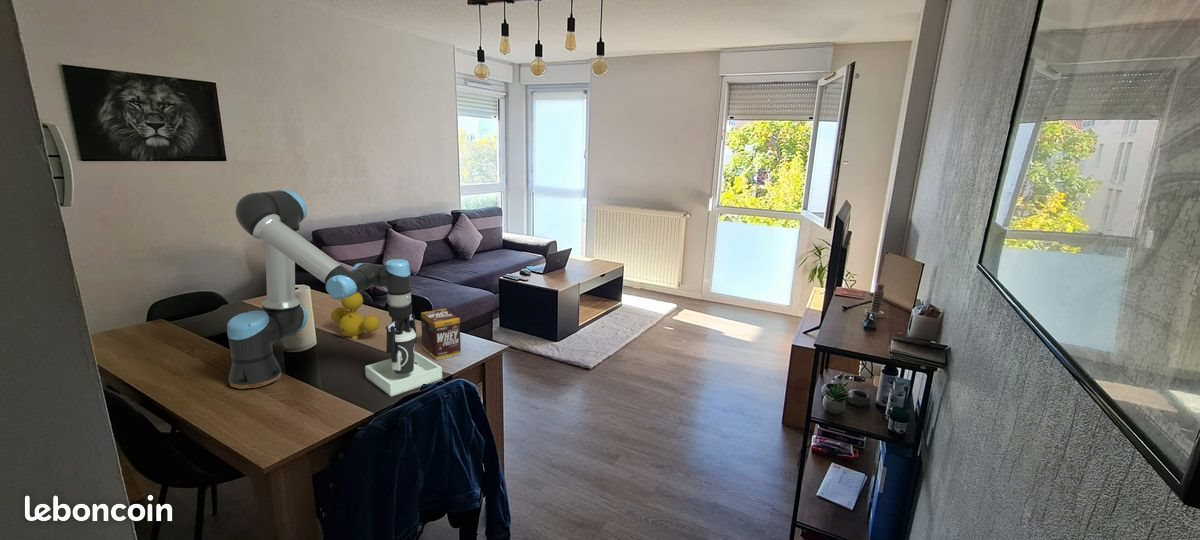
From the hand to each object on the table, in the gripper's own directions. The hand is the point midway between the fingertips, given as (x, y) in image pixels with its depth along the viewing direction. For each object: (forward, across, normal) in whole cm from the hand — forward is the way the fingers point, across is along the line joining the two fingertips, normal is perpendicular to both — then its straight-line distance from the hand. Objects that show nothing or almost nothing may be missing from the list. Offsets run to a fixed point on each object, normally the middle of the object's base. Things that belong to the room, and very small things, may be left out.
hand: (403, 364), depth 174 cm
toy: (+5, +28, +43) cm, 51 cm away
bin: (+5, 0, 0) cm, 5 cm away
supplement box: (+6, +25, -1) cm, 26 cm away
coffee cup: (+2, 0, 0) cm, 2 cm away
